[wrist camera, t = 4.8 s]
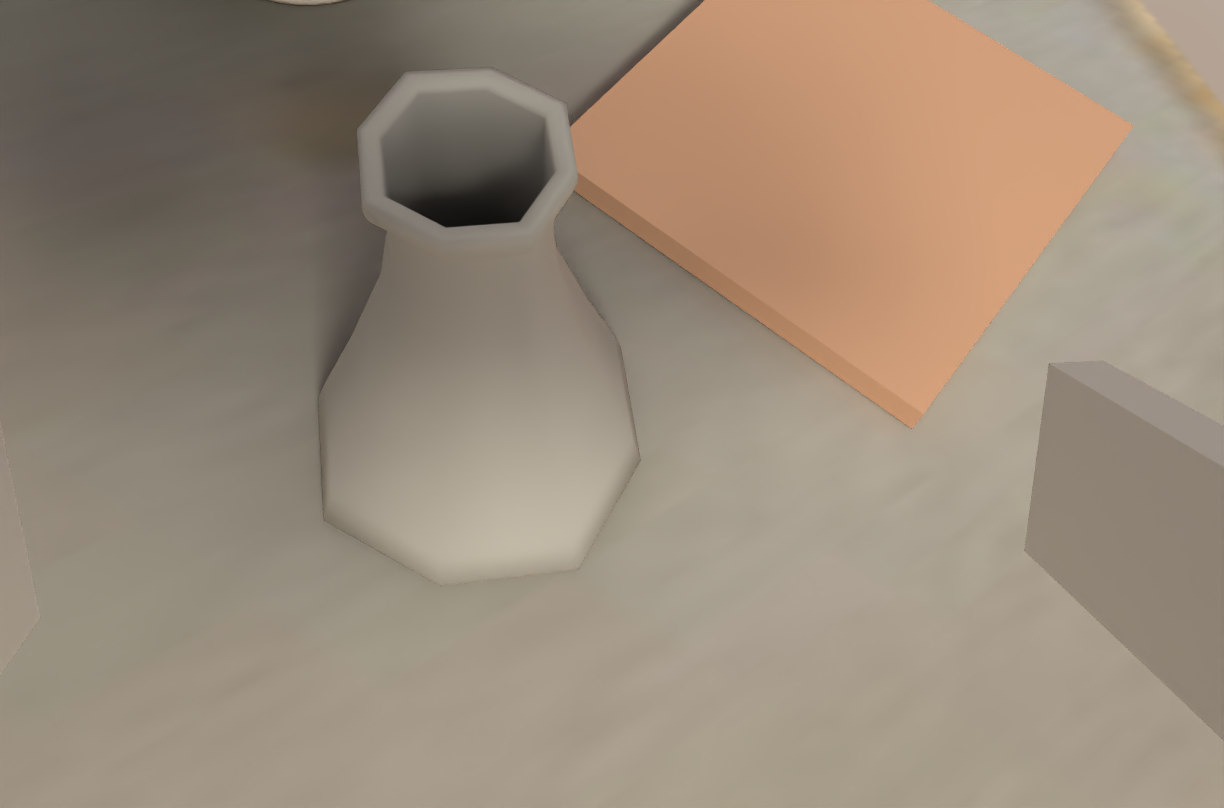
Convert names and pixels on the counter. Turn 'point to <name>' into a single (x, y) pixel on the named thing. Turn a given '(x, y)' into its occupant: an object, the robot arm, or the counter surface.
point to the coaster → (847, 175)
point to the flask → (473, 345)
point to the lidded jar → (307, 2)
